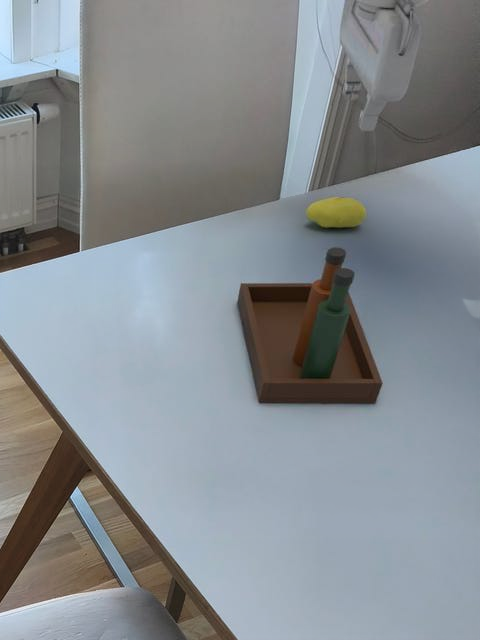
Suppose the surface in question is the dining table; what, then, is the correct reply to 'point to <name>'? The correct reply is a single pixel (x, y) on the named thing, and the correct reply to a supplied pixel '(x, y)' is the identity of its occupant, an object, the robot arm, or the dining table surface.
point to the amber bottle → (317, 300)
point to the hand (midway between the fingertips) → (357, 113)
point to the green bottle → (328, 329)
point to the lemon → (337, 212)
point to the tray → (280, 342)
